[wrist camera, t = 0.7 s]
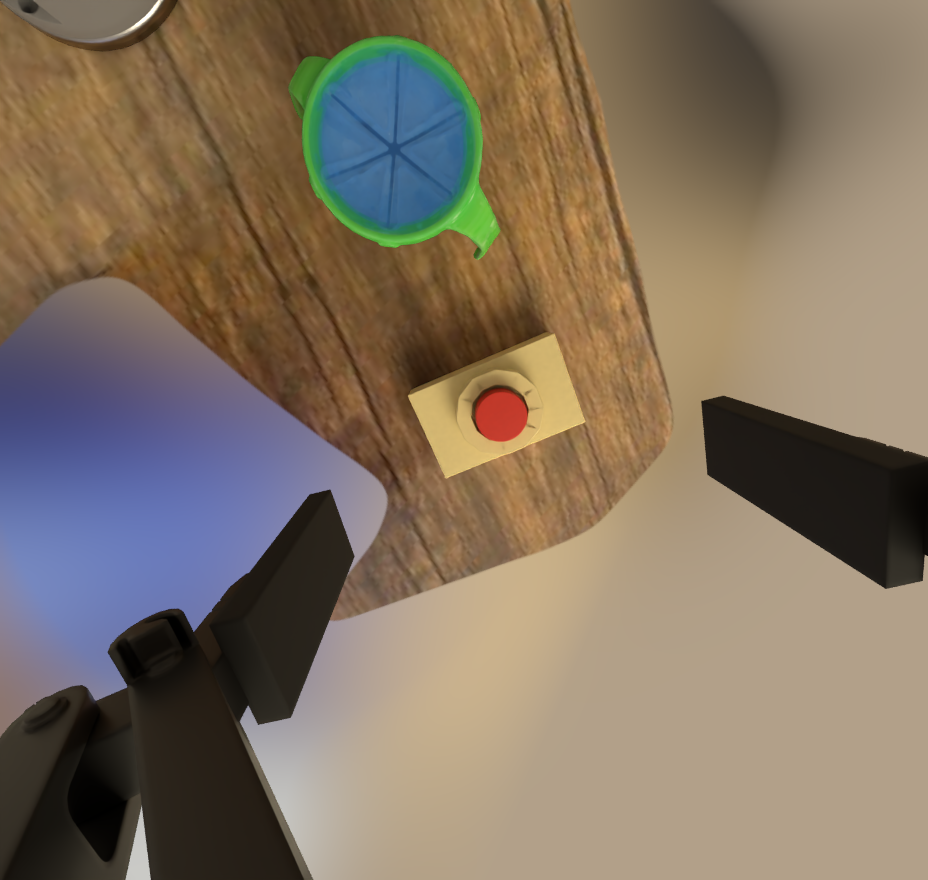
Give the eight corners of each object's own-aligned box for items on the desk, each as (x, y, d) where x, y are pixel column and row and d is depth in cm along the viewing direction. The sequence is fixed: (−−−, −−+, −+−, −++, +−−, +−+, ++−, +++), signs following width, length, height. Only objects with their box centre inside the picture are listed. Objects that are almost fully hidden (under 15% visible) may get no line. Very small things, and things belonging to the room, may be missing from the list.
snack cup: (524, 213, 35) (551, 172, 26) (438, 311, 37) (432, 309, 28) (376, 54, 32) (342, -60, 22) (290, 171, 34) (225, 112, 24)
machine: (446, 466, 41) (445, 486, 36) (411, 389, 39) (405, 399, 34) (575, 414, 40) (592, 427, 35) (546, 331, 38) (559, 333, 33)
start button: (485, 443, 36) (487, 449, 34) (467, 399, 35) (467, 403, 33) (531, 425, 35) (534, 430, 34) (513, 380, 34) (516, 383, 33)
